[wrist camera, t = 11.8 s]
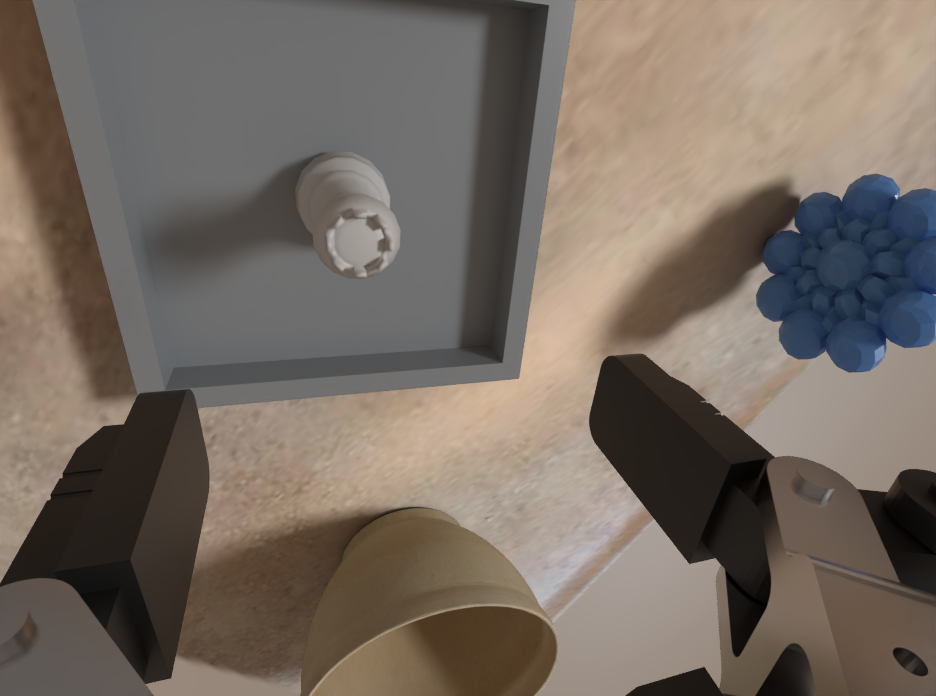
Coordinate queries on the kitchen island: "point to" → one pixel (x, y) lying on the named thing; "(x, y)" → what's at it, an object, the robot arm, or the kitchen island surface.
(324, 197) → the rook chess piece
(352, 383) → the tray
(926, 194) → the grapes
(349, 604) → the planter bowl
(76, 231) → the kitchen island surface
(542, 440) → the kitchen island surface
